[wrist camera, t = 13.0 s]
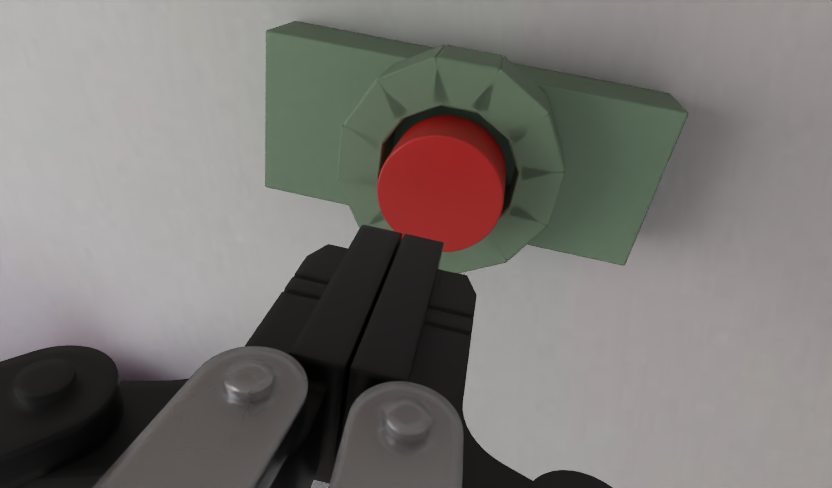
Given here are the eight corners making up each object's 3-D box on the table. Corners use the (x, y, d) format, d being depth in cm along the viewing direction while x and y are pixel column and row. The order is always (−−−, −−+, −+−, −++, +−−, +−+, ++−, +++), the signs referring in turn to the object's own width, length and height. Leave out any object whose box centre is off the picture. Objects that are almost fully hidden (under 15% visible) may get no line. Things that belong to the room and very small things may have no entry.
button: (519, 128, 14) (518, 150, 12) (491, 233, 15) (488, 264, 14) (399, 104, 14) (384, 123, 13) (385, 210, 16) (370, 238, 14)
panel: (677, 74, 16) (719, 110, 12) (609, 247, 19) (628, 314, 16) (294, 1, 17) (235, 16, 13) (289, 177, 20) (239, 226, 16)
